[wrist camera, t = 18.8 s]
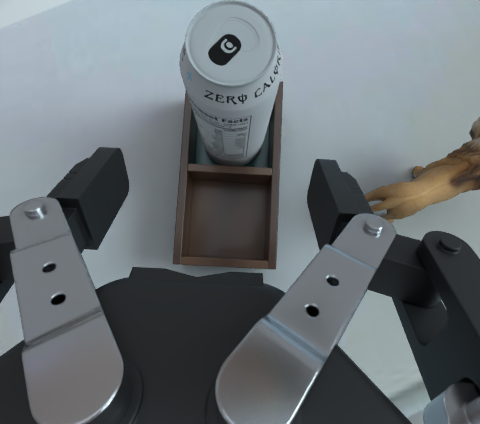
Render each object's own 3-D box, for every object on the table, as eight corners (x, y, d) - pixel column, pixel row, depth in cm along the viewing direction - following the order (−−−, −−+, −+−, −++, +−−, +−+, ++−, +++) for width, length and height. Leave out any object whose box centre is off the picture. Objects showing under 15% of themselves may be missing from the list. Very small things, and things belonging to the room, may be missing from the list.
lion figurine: (438, 136, 31) (519, 94, 22) (469, 177, 31) (563, 150, 22) (328, 212, 30) (367, 200, 21) (358, 255, 30) (411, 260, 21)
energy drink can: (274, 139, 30) (312, 39, 15) (235, 182, 30) (234, 120, 15) (231, 102, 31) (227, -32, 16) (191, 143, 30) (149, 44, 15)
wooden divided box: (182, 260, 30) (172, 264, 25) (193, 100, 31) (186, 75, 27) (269, 265, 30) (276, 269, 25) (276, 104, 32) (283, 81, 27)
